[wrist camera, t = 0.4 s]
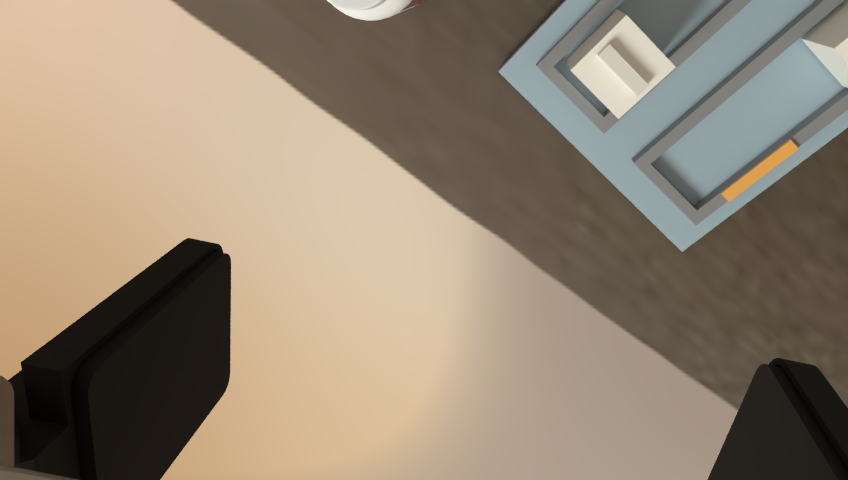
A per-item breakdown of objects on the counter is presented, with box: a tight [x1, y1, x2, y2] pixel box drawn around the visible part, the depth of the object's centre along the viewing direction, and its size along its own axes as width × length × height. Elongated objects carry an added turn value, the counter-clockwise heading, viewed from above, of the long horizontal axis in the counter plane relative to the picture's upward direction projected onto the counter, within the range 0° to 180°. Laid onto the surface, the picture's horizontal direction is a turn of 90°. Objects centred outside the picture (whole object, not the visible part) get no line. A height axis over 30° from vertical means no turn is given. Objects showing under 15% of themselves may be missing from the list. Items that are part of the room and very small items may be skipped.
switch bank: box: [498, 0, 848, 251], centre depth 37 cm, size 18×22×2 cm
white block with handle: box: [566, 9, 676, 119], centre depth 36 cm, size 4×4×5 cm
